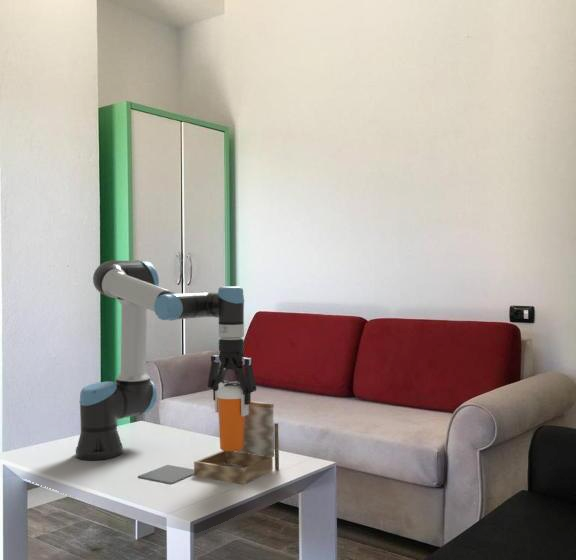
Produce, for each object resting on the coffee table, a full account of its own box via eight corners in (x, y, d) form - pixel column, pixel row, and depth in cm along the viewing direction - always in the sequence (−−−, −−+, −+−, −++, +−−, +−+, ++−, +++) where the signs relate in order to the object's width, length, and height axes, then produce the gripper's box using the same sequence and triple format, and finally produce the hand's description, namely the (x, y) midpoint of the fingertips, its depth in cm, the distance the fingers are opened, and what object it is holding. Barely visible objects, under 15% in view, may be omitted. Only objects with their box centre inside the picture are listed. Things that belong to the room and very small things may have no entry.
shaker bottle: (242, 453, 194) (242, 384, 193) (213, 451, 195) (212, 383, 195) (250, 445, 202) (249, 379, 202) (222, 443, 204) (221, 378, 204)
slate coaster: (137, 477, 196) (137, 476, 196) (167, 466, 207) (167, 464, 207) (171, 484, 189) (171, 482, 189) (200, 471, 200) (200, 470, 200)
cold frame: (194, 475, 197) (193, 407, 197) (228, 460, 211) (227, 398, 211) (247, 485, 187) (246, 414, 187) (279, 469, 201) (278, 403, 201)
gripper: (194, 337, 200) (195, 411, 201) (254, 341, 189) (254, 420, 190) (210, 335, 207) (210, 407, 207) (268, 339, 196) (269, 415, 196)
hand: (231, 413), depth 199 cm, fingers closed on shaker bottle, 9 cm apart
